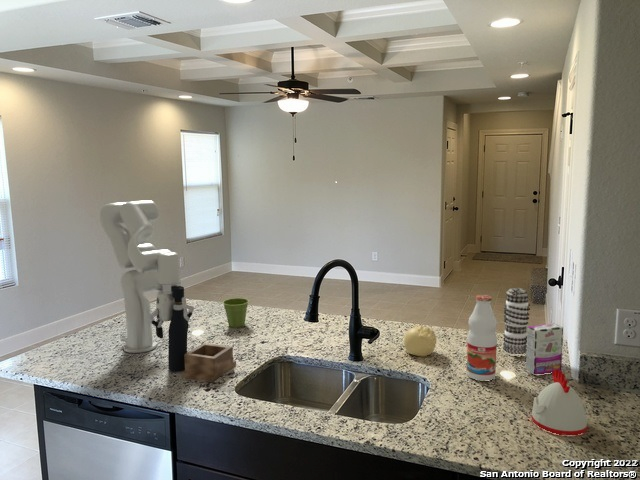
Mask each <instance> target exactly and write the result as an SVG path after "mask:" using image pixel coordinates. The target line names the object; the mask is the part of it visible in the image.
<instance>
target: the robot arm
mask: <svg viewBox="0 0 640 480" xmlns="http://www.w3.org/2000/svg"><path fill="white" fill-rule="evenodd" d="M159 216H160V210H159V207H158V205H157V203H155V202H154V201H153V200H149V199H148V200H147V199H146V200H132V201H121V202H120V201H118V202H111V203H107V204H104V205H103V206H101V208H100V210H99V221H100V224H101V227H102V229H103V231H104V233H105V234H106V235H107V237H108V238H109V240H110V243H111V246H112V248H113V252H114V255H115V259H116V261H117V263H118V265H119V267H120V269H123V270H128V271H126V272H124V273H123V274H122V275H121V277H120V287H121V289H122V294H123V299H124V301H123V302H124V313H125V326H126V327H125V328H126V334H123V335H122V336H121V337H120V342H121V343H122V342H124V345H123V351H124V352H126V353H130V354H139V353H145V352H146V353H147V352H149V351H152V350H154V349H156V348H157V346H158V342H157V341H155V340H153V326H154V327H155V334H156V336H157V337H156V338H159V339H163V338H164V330H163V327H162V326H163V323H166V322H171V319H172V316H173V307H174V306H173V305H174V303H175V302H174V301H175V298H173V287H175V286H182V282H181V279H182V278H181V264H180V263H181V261H180V255H179V254H178V253H177V252H175V251H171V250H170V249H167V248H166V249H157V247H156V246H155V245H154V244H152V243H146V242H148V240H150V239H151V238H152V237H153V235H154V233H155V227H154V226H153V224H152V223H151V222H156V221H157V220H158V219H159ZM122 224H124V225H125V226H123V225H122ZM150 292H151V293H152V292H157V294H156V304H155V310H153V312H152V307H151V302H150V300H149V299H148V298H147V297H146V296H145V294H146V293H150ZM186 298H187V297H186V294H185V292H184V297H183V298H182V303H183V309H184V318H185V321H186V325H187V333H188V332H189V321H190V318H191V317H192V315H193V313H194V310H195V307H194V306H191V305H188V303H187V299H186ZM155 317H156V320H155V319H154V318H155Z"/></svg>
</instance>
